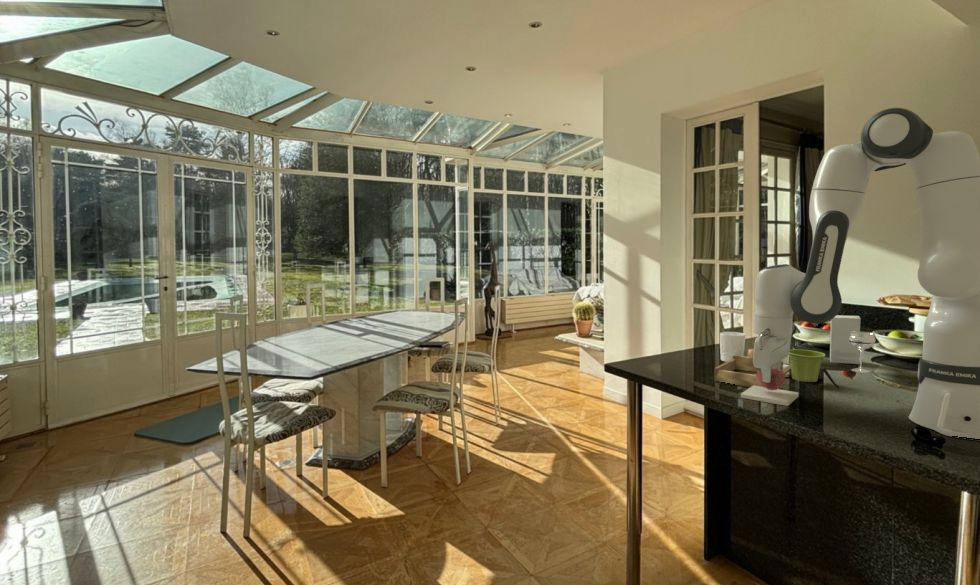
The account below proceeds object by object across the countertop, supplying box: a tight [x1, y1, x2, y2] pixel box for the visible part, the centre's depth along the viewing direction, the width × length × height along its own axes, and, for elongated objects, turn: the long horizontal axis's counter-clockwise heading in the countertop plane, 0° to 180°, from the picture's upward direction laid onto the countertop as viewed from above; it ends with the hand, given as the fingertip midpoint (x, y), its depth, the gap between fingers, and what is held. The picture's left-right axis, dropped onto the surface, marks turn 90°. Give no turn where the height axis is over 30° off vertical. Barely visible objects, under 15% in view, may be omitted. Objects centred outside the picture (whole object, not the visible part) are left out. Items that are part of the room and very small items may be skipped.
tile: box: [740, 385, 800, 407], centre depth 136 cm, size 11×11×1 cm
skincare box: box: [829, 314, 862, 365], centre depth 174 cm, size 8×7×16 cm
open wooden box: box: [713, 355, 784, 388], centre depth 153 cm, size 14×17×5 cm
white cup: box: [719, 331, 746, 363], centre depth 174 cm, size 8×8×10 cm
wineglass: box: [849, 330, 876, 374], centre depth 162 cm, size 7×7×12 cm
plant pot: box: [788, 349, 826, 383], centre depth 149 cm, size 9×9×9 cm
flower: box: [754, 366, 789, 391], centre depth 135 cm, size 8×8×6 cm
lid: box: [783, 362, 791, 374], centre depth 166 cm, size 14×16×1 cm
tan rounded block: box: [746, 348, 754, 358], centre depth 167 cm, size 4×4×5 cm
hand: (770, 379), depth 135 cm, fingers closed on flower, 5 cm apart
